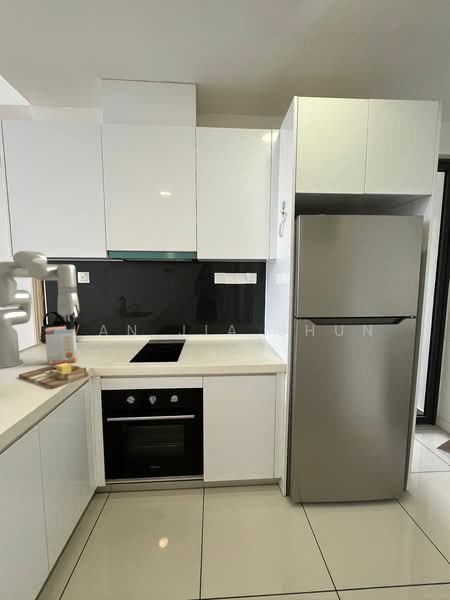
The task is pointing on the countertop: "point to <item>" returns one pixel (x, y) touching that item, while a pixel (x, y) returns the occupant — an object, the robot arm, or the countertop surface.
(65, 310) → the robot arm
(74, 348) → the cracker box
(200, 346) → the countertop surface
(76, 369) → the cubby
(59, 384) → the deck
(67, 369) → the cube
